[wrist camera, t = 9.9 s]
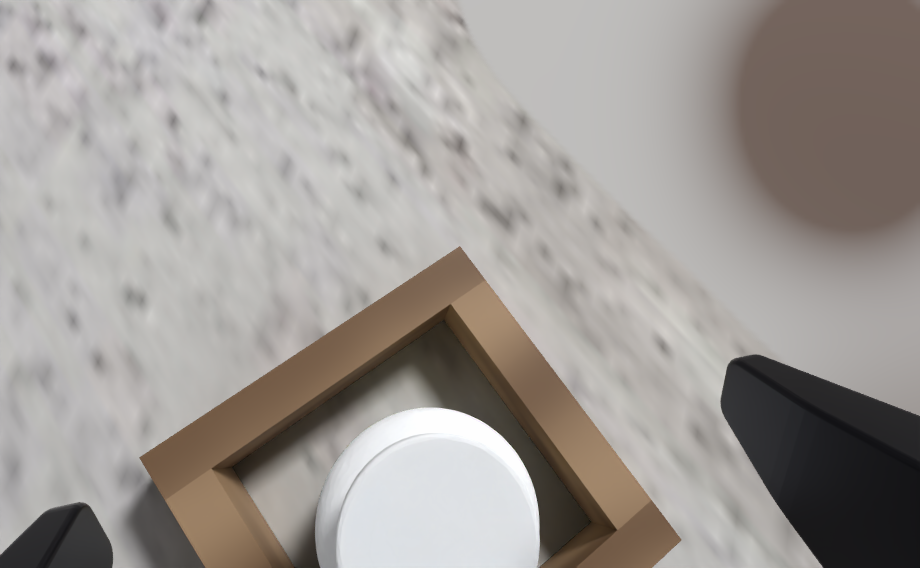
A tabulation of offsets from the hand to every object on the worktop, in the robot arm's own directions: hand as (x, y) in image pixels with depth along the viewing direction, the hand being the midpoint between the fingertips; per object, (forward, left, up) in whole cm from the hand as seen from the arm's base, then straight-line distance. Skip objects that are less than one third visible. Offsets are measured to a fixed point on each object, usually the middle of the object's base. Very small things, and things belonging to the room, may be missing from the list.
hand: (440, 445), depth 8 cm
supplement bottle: (-1, +1, -14) cm, 14 cm away
